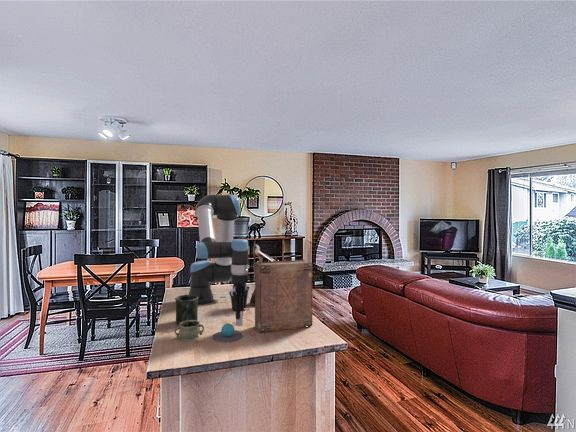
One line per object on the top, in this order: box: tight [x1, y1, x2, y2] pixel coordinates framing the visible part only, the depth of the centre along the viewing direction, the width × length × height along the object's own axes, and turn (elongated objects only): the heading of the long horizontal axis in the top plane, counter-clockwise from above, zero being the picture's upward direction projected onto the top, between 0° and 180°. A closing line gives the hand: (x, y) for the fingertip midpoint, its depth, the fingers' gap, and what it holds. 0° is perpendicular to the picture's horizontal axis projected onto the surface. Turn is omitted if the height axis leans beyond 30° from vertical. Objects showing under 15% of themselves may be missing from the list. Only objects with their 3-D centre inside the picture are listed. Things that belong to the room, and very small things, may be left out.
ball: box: [220, 323, 235, 337], centre depth 145 cm, size 6×6×6 cm
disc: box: [211, 330, 244, 343], centre depth 145 cm, size 13×13×1 cm
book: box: [254, 259, 314, 334], centre depth 158 cm, size 25×9×30 cm, turn 112°
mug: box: [174, 294, 199, 325], centre depth 161 cm, size 11×15×12 cm
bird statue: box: [249, 243, 276, 307], centre depth 197 cm, size 17×13×35 cm
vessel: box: [174, 320, 205, 342], centre depth 143 cm, size 12×9×6 cm
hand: (239, 325), depth 154 cm, fingers closed
